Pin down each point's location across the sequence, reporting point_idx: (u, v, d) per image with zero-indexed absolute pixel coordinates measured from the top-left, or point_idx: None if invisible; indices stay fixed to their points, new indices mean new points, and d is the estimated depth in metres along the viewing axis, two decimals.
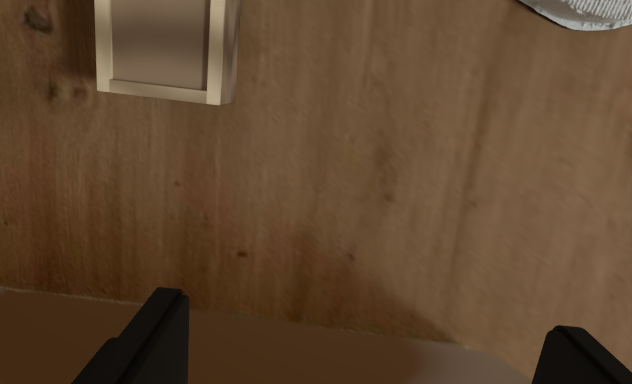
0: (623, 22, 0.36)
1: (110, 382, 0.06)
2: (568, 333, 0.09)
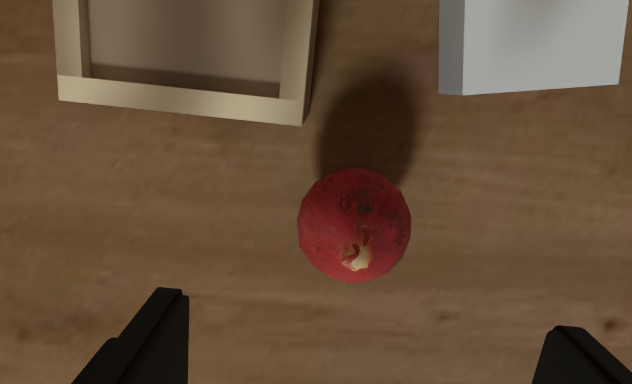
0: None
1: (110, 382, 0.06)
2: (568, 333, 0.09)
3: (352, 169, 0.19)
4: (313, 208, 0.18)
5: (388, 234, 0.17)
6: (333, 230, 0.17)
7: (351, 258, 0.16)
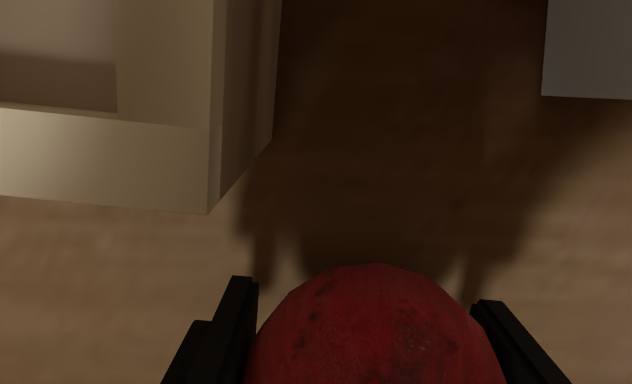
0: None
1: (221, 353, 0.07)
2: (487, 305, 0.10)
3: (369, 281, 0.08)
4: None
5: None
6: None
7: None
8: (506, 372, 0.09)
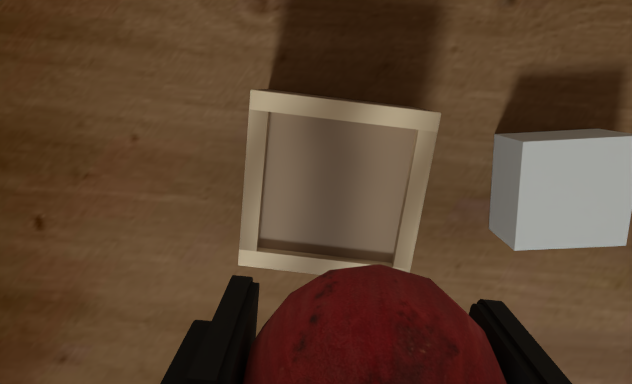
0: None
1: (221, 353, 0.07)
2: (487, 305, 0.10)
3: (369, 283, 0.08)
4: None
5: None
6: None
7: None
8: (506, 372, 0.09)
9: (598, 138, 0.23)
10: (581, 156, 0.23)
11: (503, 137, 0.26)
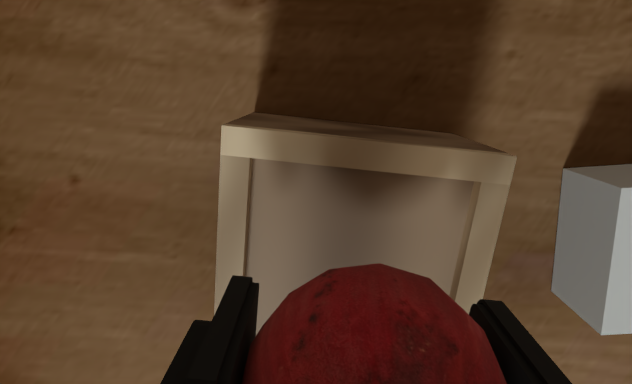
0: None
1: (221, 353, 0.07)
2: (486, 305, 0.10)
3: (368, 282, 0.08)
4: None
5: None
6: None
7: None
8: (506, 372, 0.09)
9: None
10: None
11: (580, 175, 0.19)
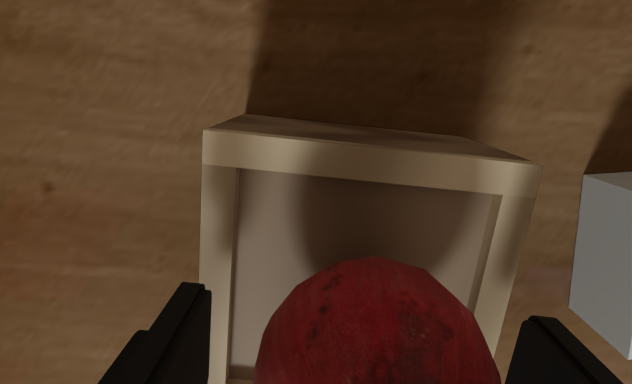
0: None
1: (148, 369, 0.07)
2: (541, 323, 0.10)
3: (371, 275, 0.09)
4: None
5: None
6: None
7: None
8: None
9: None
10: None
11: (604, 183, 0.17)
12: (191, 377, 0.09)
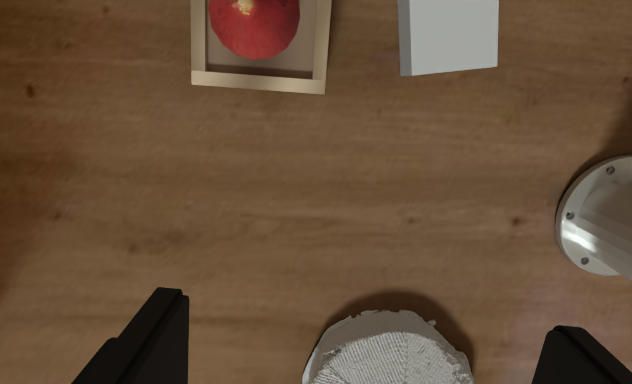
0: None
1: (110, 382, 0.06)
2: (568, 333, 0.09)
3: None
4: None
5: None
6: None
7: None
8: None
9: None
10: None
11: None
12: None
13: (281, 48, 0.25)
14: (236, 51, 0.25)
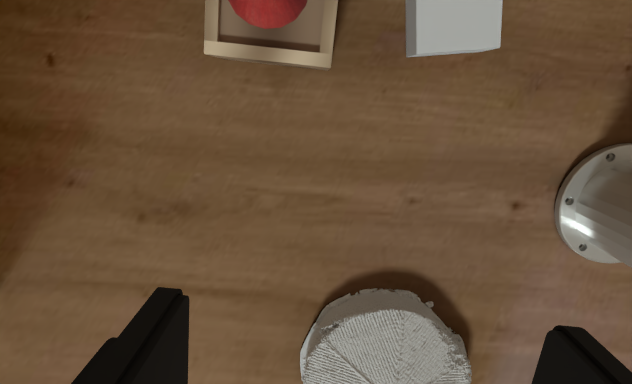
0: None
1: (110, 382, 0.06)
2: (568, 333, 0.09)
3: None
4: None
5: None
6: None
7: None
8: None
9: None
10: None
11: None
12: None
13: (291, 18, 0.26)
14: (248, 19, 0.26)
